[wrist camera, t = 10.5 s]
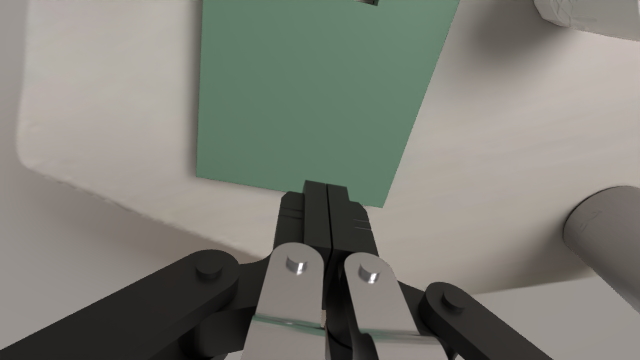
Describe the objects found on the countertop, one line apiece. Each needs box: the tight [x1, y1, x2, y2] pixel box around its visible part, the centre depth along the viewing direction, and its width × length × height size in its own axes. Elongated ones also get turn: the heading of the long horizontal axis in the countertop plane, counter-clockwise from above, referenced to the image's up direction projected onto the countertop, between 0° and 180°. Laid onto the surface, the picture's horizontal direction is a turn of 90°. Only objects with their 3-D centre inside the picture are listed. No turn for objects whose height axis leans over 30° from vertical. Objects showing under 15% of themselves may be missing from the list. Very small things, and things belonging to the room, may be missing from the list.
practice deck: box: [196, 0, 460, 208], centre depth 20 cm, size 18×26×14 cm
